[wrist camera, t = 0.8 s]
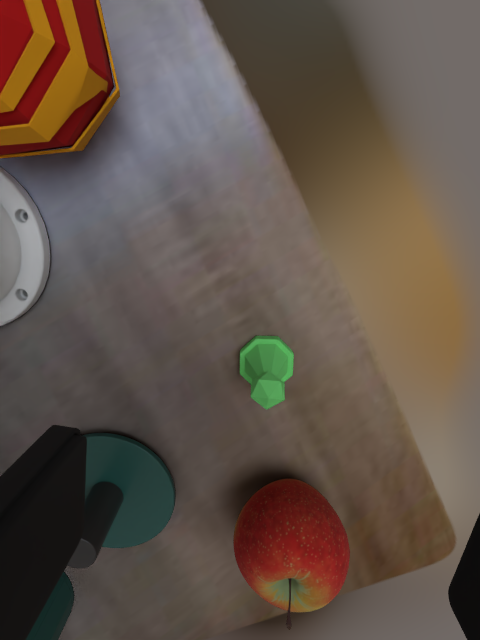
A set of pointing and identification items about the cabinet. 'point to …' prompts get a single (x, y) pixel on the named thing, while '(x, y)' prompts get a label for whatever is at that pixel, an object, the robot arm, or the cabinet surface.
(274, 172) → the cabinet surface
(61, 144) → the potion bottle
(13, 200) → the robot arm
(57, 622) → the tin
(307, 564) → the apple
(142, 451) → the lid
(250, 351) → the game piece
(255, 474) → the cabinet surface
